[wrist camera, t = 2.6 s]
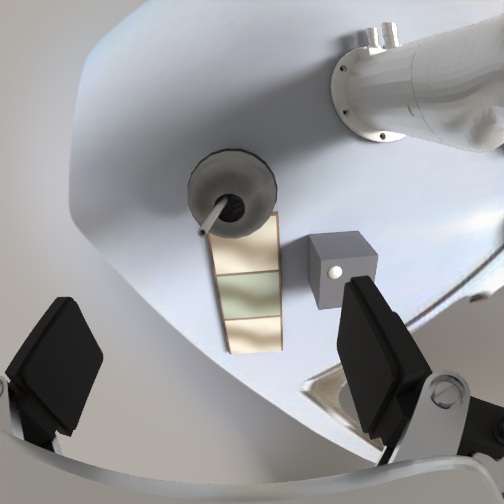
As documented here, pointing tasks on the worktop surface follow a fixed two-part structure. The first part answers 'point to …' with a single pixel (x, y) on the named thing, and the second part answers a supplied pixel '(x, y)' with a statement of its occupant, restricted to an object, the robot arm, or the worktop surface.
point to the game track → (250, 288)
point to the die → (338, 264)
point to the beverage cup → (231, 193)
